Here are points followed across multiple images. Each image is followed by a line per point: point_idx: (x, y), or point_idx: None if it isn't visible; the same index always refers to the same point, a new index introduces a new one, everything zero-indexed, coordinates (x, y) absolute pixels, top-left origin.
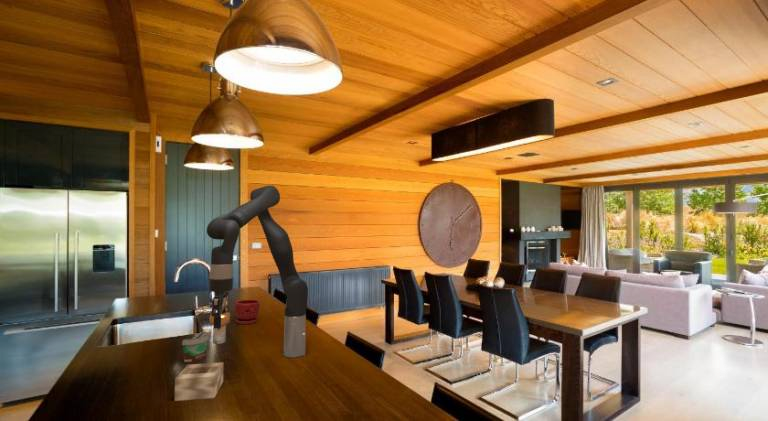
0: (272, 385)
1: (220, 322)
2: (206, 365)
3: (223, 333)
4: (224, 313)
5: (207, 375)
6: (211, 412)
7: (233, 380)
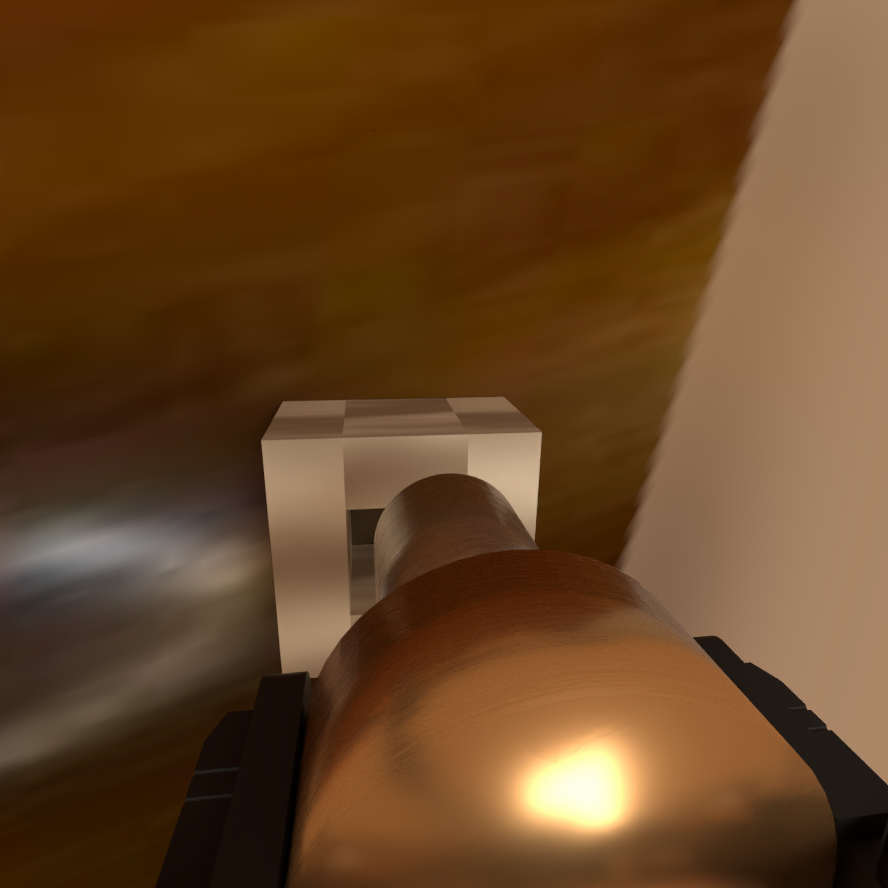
0: (388, 11)
1: (781, 702)
2: (316, 551)
3: (525, 541)
4: (509, 862)
5: (516, 486)
6: (665, 366)
7: (262, 336)
